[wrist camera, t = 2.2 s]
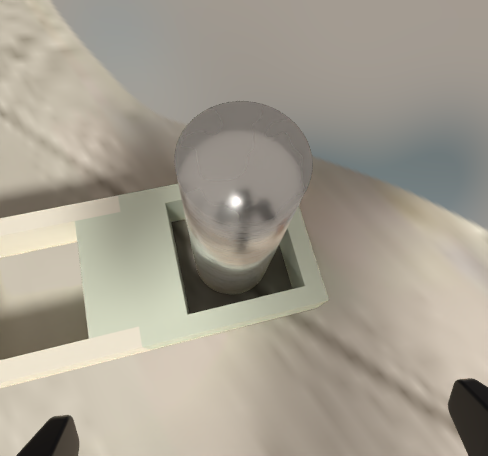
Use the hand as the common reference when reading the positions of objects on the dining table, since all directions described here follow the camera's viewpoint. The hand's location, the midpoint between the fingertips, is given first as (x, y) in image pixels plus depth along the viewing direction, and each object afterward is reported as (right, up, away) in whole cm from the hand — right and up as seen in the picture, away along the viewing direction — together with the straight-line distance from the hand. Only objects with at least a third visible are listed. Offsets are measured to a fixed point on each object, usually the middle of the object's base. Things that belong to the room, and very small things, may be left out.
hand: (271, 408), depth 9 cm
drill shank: (-1, +2, +15) cm, 15 cm away
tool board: (-7, +1, +14) cm, 15 cm away
